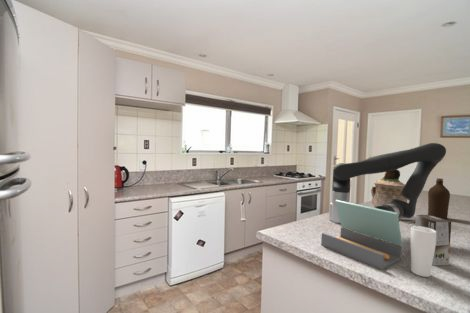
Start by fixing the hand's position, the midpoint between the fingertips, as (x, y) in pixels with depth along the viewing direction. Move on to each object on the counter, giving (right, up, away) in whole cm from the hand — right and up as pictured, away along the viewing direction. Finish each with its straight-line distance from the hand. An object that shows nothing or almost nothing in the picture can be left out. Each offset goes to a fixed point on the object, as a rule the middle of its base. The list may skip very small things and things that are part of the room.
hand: (367, 218), depth 97 cm
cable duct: (-5, -13, -2) cm, 14 cm away
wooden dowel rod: (-4, -12, -3) cm, 13 cm away
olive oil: (+76, -14, +55) cm, 95 cm away
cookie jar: (+45, -13, +57) cm, 74 cm away
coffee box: (+20, -14, -7) cm, 26 cm away
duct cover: (-1, -1, 0) cm, 2 cm away
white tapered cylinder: (+8, -14, -18) cm, 24 cm away
